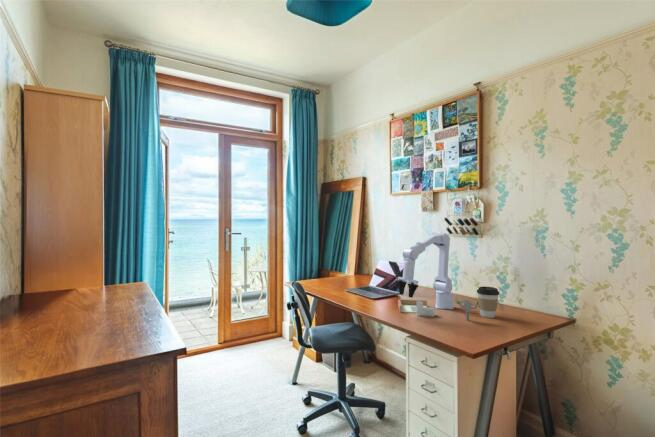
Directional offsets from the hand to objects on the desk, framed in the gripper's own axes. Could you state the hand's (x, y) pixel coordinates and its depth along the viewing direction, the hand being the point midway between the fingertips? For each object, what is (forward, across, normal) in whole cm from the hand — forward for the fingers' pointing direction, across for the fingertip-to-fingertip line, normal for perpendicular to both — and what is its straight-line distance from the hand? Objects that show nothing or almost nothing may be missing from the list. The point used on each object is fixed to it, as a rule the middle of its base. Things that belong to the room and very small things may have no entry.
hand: (405, 295), depth 185 cm
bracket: (+9, +4, +11) cm, 15 cm away
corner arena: (+8, -8, +14) cm, 18 cm away
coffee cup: (+5, +20, +41) cm, 46 cm away
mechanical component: (+8, +21, +24) cm, 33 cm away
